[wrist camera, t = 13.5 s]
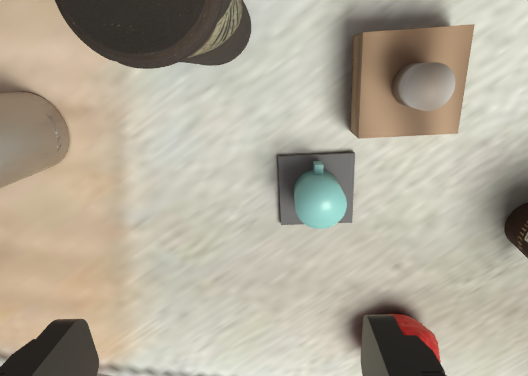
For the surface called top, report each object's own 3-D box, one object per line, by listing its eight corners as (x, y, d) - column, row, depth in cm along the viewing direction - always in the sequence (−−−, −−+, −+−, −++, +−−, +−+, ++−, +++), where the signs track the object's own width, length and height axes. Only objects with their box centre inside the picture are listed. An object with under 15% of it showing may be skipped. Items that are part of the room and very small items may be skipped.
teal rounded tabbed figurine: (293, 160, 38) (294, 172, 33) (341, 159, 37) (348, 171, 33) (293, 219, 40) (295, 237, 36) (338, 219, 40) (345, 236, 36)
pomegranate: (437, 316, 46) (477, 374, 37) (402, 363, 49) (430, 427, 40) (376, 294, 45) (403, 349, 36) (344, 344, 48) (361, 406, 39)
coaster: (281, 222, 41) (281, 224, 41) (277, 155, 38) (277, 156, 38) (351, 220, 41) (352, 222, 40) (353, 152, 38) (354, 153, 37)
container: (253, 69, 35) (224, 69, 16) (172, 68, 35) (51, 67, 16) (252, -23, 32) (217, -155, 13) (164, -23, 32) (5, -152, 13)
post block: (350, 131, 37) (368, 147, 29) (353, 36, 33) (375, 26, 26) (438, 126, 36) (481, 141, 29) (451, 29, 33) (503, 17, 25)
